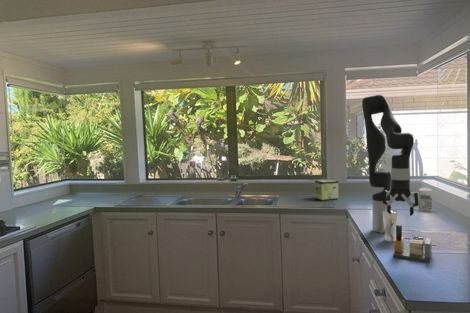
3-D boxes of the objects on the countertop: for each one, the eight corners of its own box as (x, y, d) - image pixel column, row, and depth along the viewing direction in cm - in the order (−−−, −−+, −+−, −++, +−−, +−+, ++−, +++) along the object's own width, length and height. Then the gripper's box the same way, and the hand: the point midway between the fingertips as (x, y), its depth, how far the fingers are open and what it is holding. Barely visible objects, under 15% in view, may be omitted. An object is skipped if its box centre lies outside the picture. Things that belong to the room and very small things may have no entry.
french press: (435, 211, 241) (435, 174, 239) (416, 211, 243) (416, 174, 242) (430, 208, 251) (430, 172, 249) (412, 208, 253) (412, 172, 251)
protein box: (315, 199, 298) (314, 180, 297) (331, 197, 303) (331, 179, 302) (321, 201, 288) (321, 182, 287) (338, 199, 293) (338, 180, 292)
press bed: (397, 249, 168) (397, 233, 168) (431, 253, 161) (431, 237, 161) (393, 257, 158) (393, 240, 158) (429, 262, 151) (429, 244, 150)
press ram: (396, 247, 166) (396, 223, 166) (403, 248, 165) (403, 224, 164) (394, 251, 160) (394, 227, 160) (401, 252, 159) (401, 228, 158)
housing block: (410, 250, 162) (410, 239, 162) (423, 251, 160) (423, 240, 159) (409, 253, 158) (409, 242, 158) (422, 255, 155) (422, 243, 155)
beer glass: (381, 240, 182) (381, 211, 181) (384, 237, 188) (384, 208, 187) (396, 242, 178) (396, 212, 177) (399, 239, 184) (399, 209, 183)
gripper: (381, 178, 161) (381, 214, 162) (417, 179, 153) (417, 217, 154) (384, 176, 167) (384, 211, 168) (419, 177, 160) (418, 214, 161)
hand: (400, 214), depth 161 cm, fingers open, 8 cm apart
